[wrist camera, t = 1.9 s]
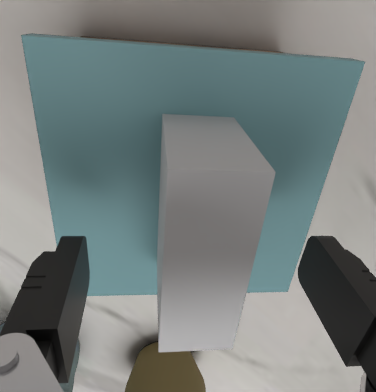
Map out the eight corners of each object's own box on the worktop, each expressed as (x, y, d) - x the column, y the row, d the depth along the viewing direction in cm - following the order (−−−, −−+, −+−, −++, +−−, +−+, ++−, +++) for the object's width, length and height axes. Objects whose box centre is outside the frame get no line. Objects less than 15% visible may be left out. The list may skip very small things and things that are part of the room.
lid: (341, 56, 14) (482, 90, 8) (277, 270, 21) (329, 377, 15) (37, 32, 12) (-69, 52, 6) (72, 273, 19) (35, 394, 13)
